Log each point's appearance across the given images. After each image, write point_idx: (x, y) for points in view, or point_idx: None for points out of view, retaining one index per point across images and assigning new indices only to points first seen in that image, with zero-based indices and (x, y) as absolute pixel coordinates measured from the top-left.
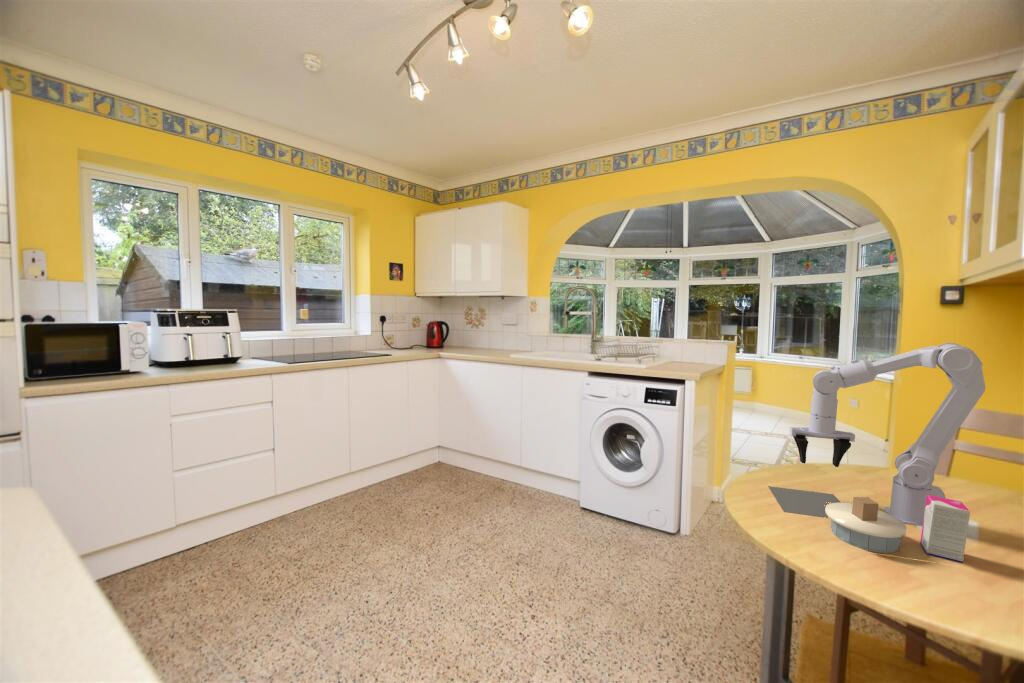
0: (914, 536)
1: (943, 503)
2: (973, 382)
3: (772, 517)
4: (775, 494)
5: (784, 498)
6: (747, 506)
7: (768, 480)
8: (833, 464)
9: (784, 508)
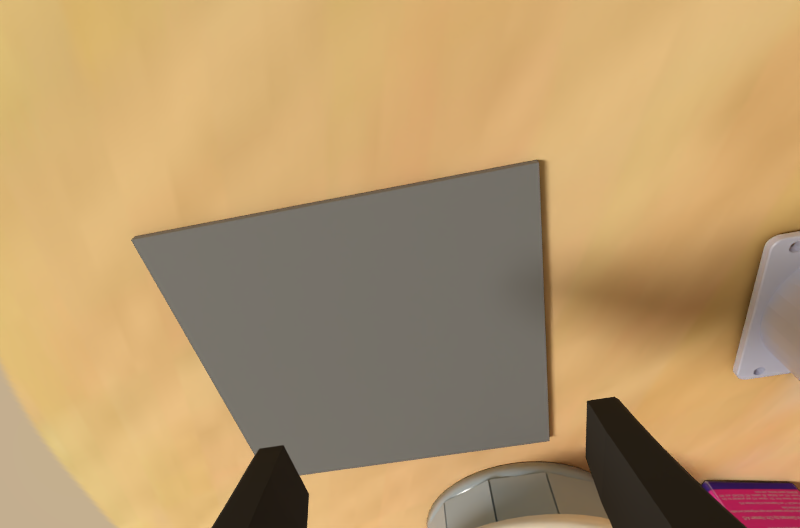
0: (721, 445)
1: None
2: None
3: None
4: (203, 343)
5: (253, 367)
6: (133, 483)
7: (93, 89)
8: (588, 425)
9: None
